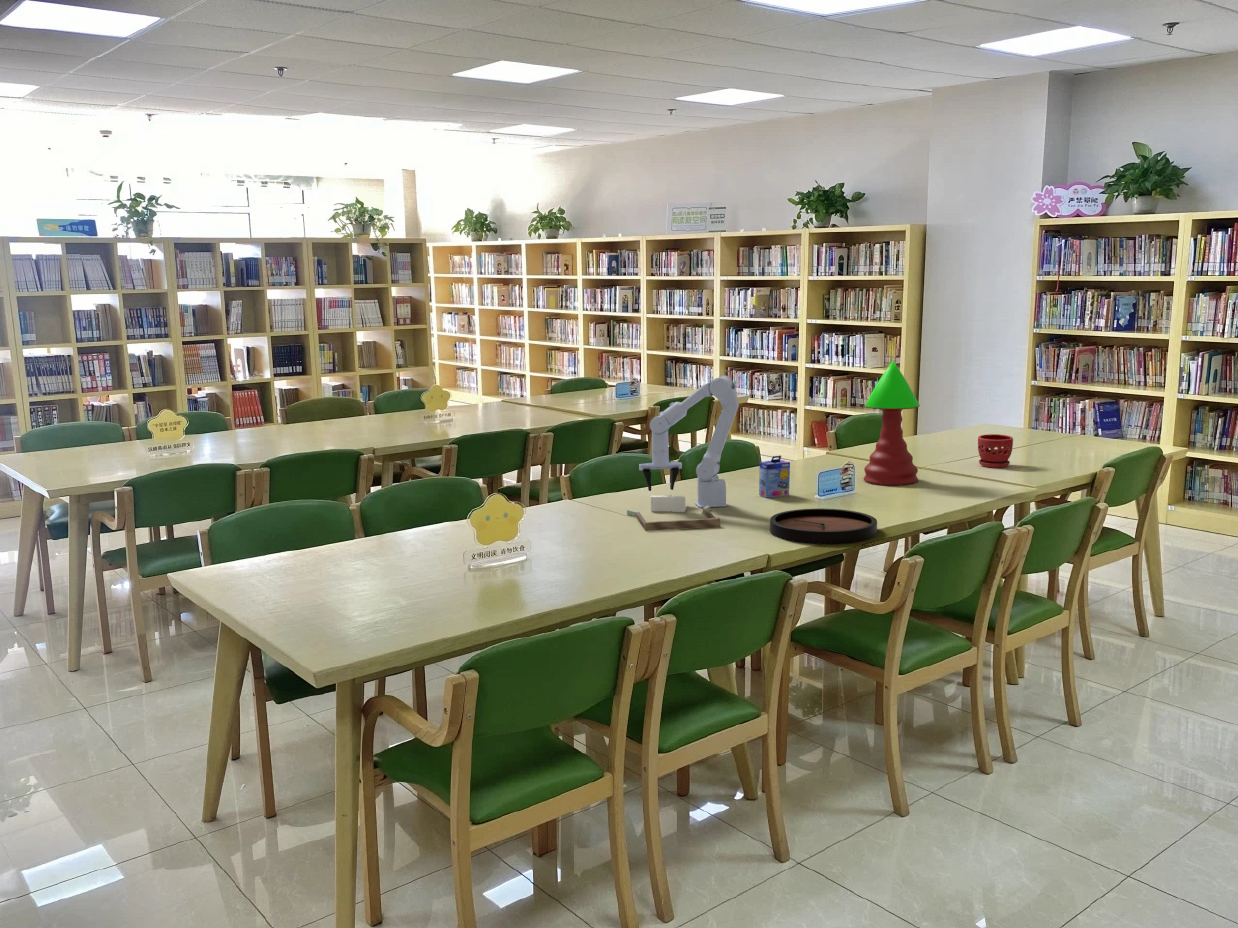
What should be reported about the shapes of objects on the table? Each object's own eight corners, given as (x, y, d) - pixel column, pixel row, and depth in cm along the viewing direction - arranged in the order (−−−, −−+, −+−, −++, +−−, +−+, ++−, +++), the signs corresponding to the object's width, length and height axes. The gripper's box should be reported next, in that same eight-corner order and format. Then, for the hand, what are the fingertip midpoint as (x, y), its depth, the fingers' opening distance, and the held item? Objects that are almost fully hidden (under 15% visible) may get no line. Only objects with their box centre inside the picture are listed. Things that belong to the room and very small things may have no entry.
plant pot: (969, 465, 404) (970, 435, 402) (994, 462, 410) (995, 433, 408) (994, 470, 393) (995, 439, 391) (1019, 467, 398) (1020, 437, 396)
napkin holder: (641, 512, 336) (640, 495, 335) (663, 506, 345) (663, 490, 344) (675, 518, 326) (675, 501, 325) (697, 512, 334) (697, 495, 333)
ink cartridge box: (766, 498, 351) (766, 457, 349) (758, 495, 356) (758, 455, 354) (790, 495, 355) (790, 455, 353) (781, 492, 360) (781, 452, 358)
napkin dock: (710, 509, 335) (710, 502, 335) (727, 526, 311) (727, 518, 311) (626, 514, 332) (626, 506, 331) (637, 531, 308) (637, 523, 308)
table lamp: (924, 485, 366) (927, 361, 359) (869, 486, 367) (871, 362, 359) (910, 475, 386) (913, 357, 378) (858, 476, 386) (860, 359, 379)
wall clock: (899, 524, 292) (804, 536, 281) (898, 538, 293) (804, 550, 282) (839, 504, 321) (751, 514, 310) (838, 517, 322) (751, 527, 311)
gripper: (679, 448, 349) (679, 486, 352) (637, 449, 347) (638, 488, 350) (682, 451, 342) (683, 490, 345) (640, 453, 341) (641, 492, 343)
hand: (660, 489), depth 347 cm, fingers open, 7 cm apart
